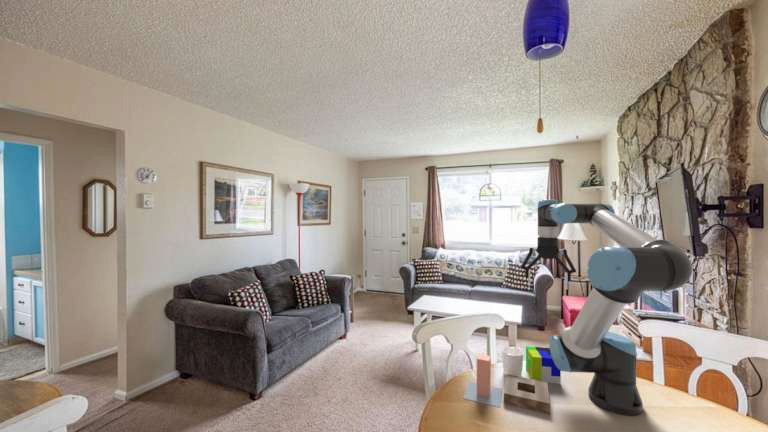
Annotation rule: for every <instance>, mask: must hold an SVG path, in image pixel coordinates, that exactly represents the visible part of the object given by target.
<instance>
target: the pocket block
mask: <svg viewBox="0 0 768 432" xmlns="http://www.w3.org/2000/svg"><path fill="white" fill-rule="evenodd" d="M503 388H504V389H503V404H505V405H509V406H513V407H517V408H521V409H526V410H530V411H533V412H534V411H535V412H537V413H542V414H546V415H551V401H550V393H549V387H548V383H547V382H543V381H538V380H533V379H531V378H529V377H528V378H527V377H524V376H521V377H518V376H513V375H508V374H506V376H505V379H504V387H503Z"/></svg>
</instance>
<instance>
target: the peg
mask: <svg viewBox="0 0 768 432" xmlns="http://www.w3.org/2000/svg"><path fill="white" fill-rule="evenodd" d="M491 358H492V357H491V356H490V355H486V354H481V353H478V355H477V358H476V383H477V395H478V396H483V397H487V398H489V396H490V386H491Z"/></svg>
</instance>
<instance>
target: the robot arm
mask: <svg viewBox="0 0 768 432" xmlns="http://www.w3.org/2000/svg"><path fill="white" fill-rule="evenodd" d="M537 202H538V203H537V208H536V209H537V236H538V237H537V247H536V248H535V247H531V246H530V247H529V251H528V253H527V255H526V257H525V258H524V260H523V262H522V264H521V265H520V268H521V269H522V270H524V271H525V278H526V279H528V282H527V283H528V287H531V268H532V267H534V265H535V264H536V263H538V261H539V260H540V259H543V260H547V259H548V260H555V261H556V262H557V263H558V264H559V265H560V267H561V268H563V270H564V271H565V272H564V290H568V289H569V288H568V285H569V284H568V283H569V282H571V281H572V280H571V279H572V274H574V273H577V269H576V268H575V266H574V264H573V262H572V261H571V259H570V257H569V256H568V251H567V249H566V248H561V249H559V239H558V236H559V224H561V225H563V224H564V225H565V224H566V225H567V224H589V225H591V226H592V227H594V228H595V229H597V230H598V231H600V232H601V233H603V235H605V236H606V237H608V238H609V239H611V241H613V242H615V243H616V244H617V245H613V246H604V247H600V248H598V249H596V250H595V251H594V252H593V253H592V254H591V255H590V257H589V259H588V262H587V267H588V269H586V271H587V276H588V277H587V278H588V280H589V282H590V285H591V286H592V289H591V290H590V293H589V294H588V296H587V298H586V300H585V301H584V303H583V305H582V307H581V309H580V311H579V312H578V314H577V316H576V317H575V320H574V321H573V323H572V325H571V326H567V327H566V328H564V329H563V331H562V332H561V334H560V335H557V334H554V335H551V336H550V338H549V342H548V344H549V348H550V352H551V356H552V359H553V361H554V364H555V365H556V367H557V368H558V369H559V370H561V372H567V373H587V374H589V373H593V374H594V375H593V377H592V379H591V382H590V383H589V386H588V398H589V399H590V400H591V401H592V402H593V403H594V404H596V405H597V406H599V407H601V408H602V409H605V410H607V411H609V412H612V413H615V414H618V415H624V416H639V415H641V414H642V413H643V411H644V405H643V400H642V398H641V395H640V392H639V389H638V386H637V357H638V354H637V345H636V343H635V342H634V341H633V340H631V339H630V338H628V337H626V336H624V335H620V334H618V333H614V332H610V331H609V330H610V329H611V328H612V326H613V324H614V323H615V321H616V319H617V318H618V317H619V316H620V313H621V312H622V311H623V310H624V308H625V306H626V305H631V304H634V303H636V302H637V301H638V300H639V299H640V297H641V296H642V294H644V293H645V292H669V291H674V290H677V289H679V288H681V287H683V286H684V285H685V284H687V282H689V280H690V279H691V276H692V273H693V264H692V261H691V259H690V257H689V256H688V254H687V253H686V252H685V251H684V250H682V249H681V248H680V247H678V246H677V245H675V244H674V243H672V242H670V241H668V240H665V239H657V238H655V236H653V235H651V234H649V233H647V232H645V231H644V230H642V229H640V227H637V226H635V225H634V224H632V223H630V222H628V220H626V219H624V218H622V217H621V216H619V215H617V214H616V212H615V209H614V208H613V205H610V204H606V203H564V202H563V203H562V202H561V203H559V201H558V200H557V199H541V200H538V201H537ZM535 252H536V253H537V256H535V258H534V259H532V261H530V259H531V256H532V255H533V254H534V253H535ZM559 253H560V254H561V255H563V257H564V258H565V260H566V262H567V264H568V266H569V268H570V269H569V268H568V267H567V266H566V264H565V263H564V262H563V261H562V260H561V259H560V258H559V257H558V254H559ZM528 261H530V263H529V264H528ZM526 265H527V266H526Z"/></svg>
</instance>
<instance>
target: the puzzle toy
mask: <svg viewBox="0 0 768 432" xmlns="http://www.w3.org/2000/svg"><path fill="white" fill-rule="evenodd" d="M525 370H526V372H527V373H528V376H529V377H530V379H533V380H538V381H543V382H547V384H548V383H550V384H557V385H561V372H562V371H561V370H559V369H558V368H557V367H556V365H555V364H554V361H553V359H552V356H551V352H550V347H541V346H530V345H526V346H525Z"/></svg>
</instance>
